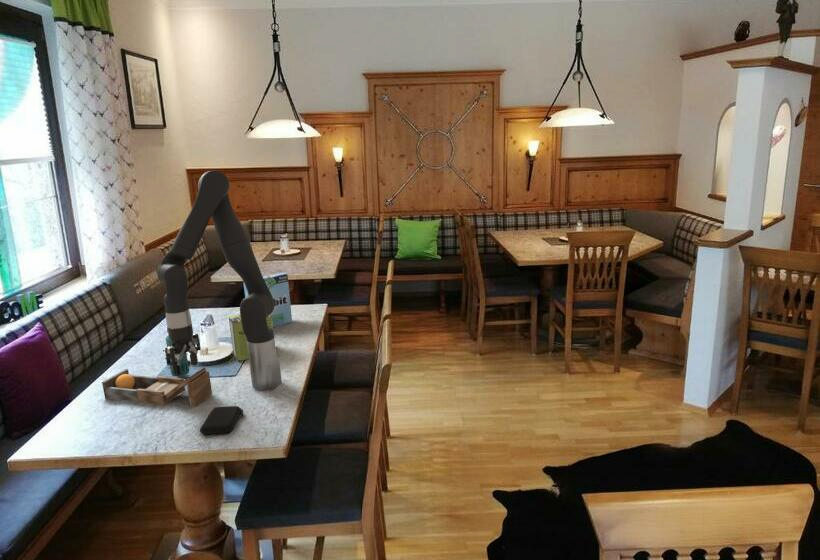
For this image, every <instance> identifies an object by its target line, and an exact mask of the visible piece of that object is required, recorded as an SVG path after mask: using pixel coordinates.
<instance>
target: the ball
mask: <svg viewBox="0 0 820 560" xmlns="http://www.w3.org/2000/svg"><path fill="white" fill-rule="evenodd" d="M131 375H132V374H123V375H120V376H119V377H118V378H117V380H116V383H115V384H116V387H117V388H126V389H132V388H133V387H134V384H135V380H134V378H133V377H132V376H131Z"/></svg>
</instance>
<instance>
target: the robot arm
mask: <svg viewBox="0 0 820 560" xmlns="http://www.w3.org/2000/svg"><path fill="white" fill-rule="evenodd" d="M197 183H198V184H197V189H198V192H197V196H196V198H195V201H194V202H193V206H192V207H191V210H190V212H189V213H188V215H187V217H186V219H185V221H184V222H183V223H182V225H181V227H180V229H179V230H178V233H177V234H176V237H175V239H174V242H172V245H171V248H170V249H169V251H168V252H167V253H166V254H165V255H164V257H163V259H162V260H161V261H160V263H159V264H158V268H157V272H156V275H157V279H158V280H159V281H160V282H161V283H163V284H164V286H165V295H164V297H163V303H164V305H163V306H164V310H165V322H166V329H168V332H167V336H168V335H169V339H170V340H171V341H172V346H171V347H167V346H166V347H165V348H164V349H165V351H164V353H166V354H165V358H166V359H165V360H166V365H167V366H170V365H172V366H173V371H174V374H175V375H176V376H179V377H181V376H180V375H181V367H180V360H181V359H182V358H183V355H184V354H185V353H189V360H190V365H192V366H197V365H198V362H199V359H198V353H199V351H201V348H202V346H201V342H200V337H199V334H198V333H194V329H193V322H192V321H193V320H192V315H191V312H190V307H189V300H188V295H187V294H188V286H189V285H188V280H189V279H188V275H187V271H186V270H185V268H184V265H185V264H186V263H187V261H190V260H192V259H193V257H194V256H195V254H196V252H197V249H198V247H199V245H200V242H201V240H202V238H203V236H204V233H205V232H206V229H207V226H208V224H209V223H210V219H211V218H212V222H213V225H214V226H213V227H214V229H215V233H216V236H217V238H218V239H217V240H218V242H219V244H220V248H221V250H222V253H223V255H224V258H225V260H226V262H227V263H228V266H230V267H231V268H232V269H233V271H234V272H235V273H236V274H237V275H238V276H239V277H240V279H241V280H242V281H243V282H244V283H243V285H244V284H245V286H246V289H247V292H248V295H249V296H247V297H246V298H242V300H241V302H240V304H239V315H240V316H241V322H242V328H243V332H244V334H245V336H246V339H247V347H248V355H249V359H248V362H249V368H250V369H249V371H250V377H251V378H250V379H251V385H252V389H254V390H255V391H267V390H275V389H276V388H277V387H278V386H279V385H280V384H281V383H282V381H283V380H282V371H281V364H280V357H278V356H277V349H276V348H277V347H276V340H275V339H274V338H275V330H274V331H273V329H274V328H273V329H272V328H270V327H268V326H267V320H266V317H267V316H268V315H270V314H271V313H272V312H273V310H274V299H273V297H272V295H271V292H270V290H269V288H268V286H267V284H266V282H265V280H264V278H263V277H264V276H263V274H262V272H261V269H260V266H259V263H258V261H257V259H256V256H255V254H254V251H253V247H252V245H251V242H250V240H249V236H248V234H247V232H246V229H245V228H244V226H243V224H242V223H241V221H240V220H239V218H238V216H237V215H236V213H235V211H234V208H233V205H232V202H231V199H230V195H229V190H230V179H229V178H228V176H227V175H226V174H225V173H224V172H222V171H220V170H217V169H212V170H209V171H206V172H204V173H203V174H202V175H201V176H200V178H199V180H198V181H197ZM275 347H276V348H275ZM176 353H177V354H179V355H176ZM176 358H177V361H175V359H176ZM170 359H171V361H170Z"/></svg>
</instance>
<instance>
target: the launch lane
mask: <svg viewBox="0 0 820 560" xmlns="http://www.w3.org/2000/svg"><path fill="white" fill-rule="evenodd" d="M123 374H129V369H128V368H127V369H126V368H125V369H123V370H121V371H120V372H118V373H116V374H114V375H113V376H111V377H109V378H106V379H105V380H103V381H102V382H101V384H102V390H103V394H104V398H105V399H109V400H117V401H126V402H134V403H135V402H136V403H143V404H144V403H145V404H151V405H153V404H155V405H162V406H165V405H166V404H168V403H169V402H171V401H172V400H174V399H175V398H177V397H179V396H180V395H181V394H182V393H184V392H185V391H186V386H187V393H188V397H189V403H190V404H189V405H190V407H194V408H196V407H198V406H199V405H201V404H202V403H203V402H204V401H206V400H207V399H208V398H210V397H211V396H213V390H212V389H213V388H212V382H211V377H210V376H211V375H210V371H209V370H207V368H206V367H203V368H201V369H199V370H198V371H196V372H195V373H193V374H192V375H190V376H189V377H187V378H186V379H184V377H175V376H162V375H159V376H149V375H138V374H137V375H136V374H129V375H131V376H132V377H133V378H134V380H135V384H134V387H133V388H132V389H126V388H117V387H116V384H115V383H116V380H117V378H118V377H119V376H120V375H123Z"/></svg>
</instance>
